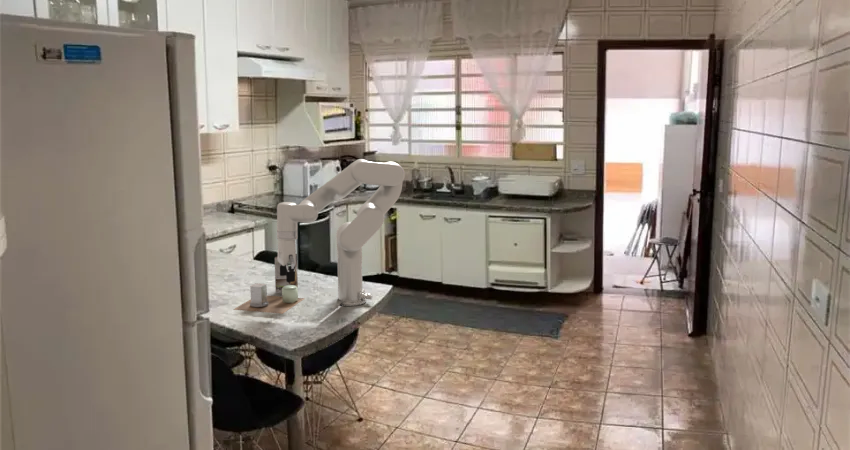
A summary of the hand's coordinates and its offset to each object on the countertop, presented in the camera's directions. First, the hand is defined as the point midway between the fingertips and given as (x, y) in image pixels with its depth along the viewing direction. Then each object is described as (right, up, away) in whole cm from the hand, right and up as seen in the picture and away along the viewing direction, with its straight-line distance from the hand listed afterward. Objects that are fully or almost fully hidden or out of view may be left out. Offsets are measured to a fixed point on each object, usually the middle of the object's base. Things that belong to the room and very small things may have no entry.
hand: (287, 278), depth 266 cm
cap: (+1, -9, +2) cm, 9 cm away
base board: (-6, -11, -1) cm, 13 cm away
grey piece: (-10, -10, -4) cm, 15 cm away
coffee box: (-4, -8, +17) cm, 19 cm away
